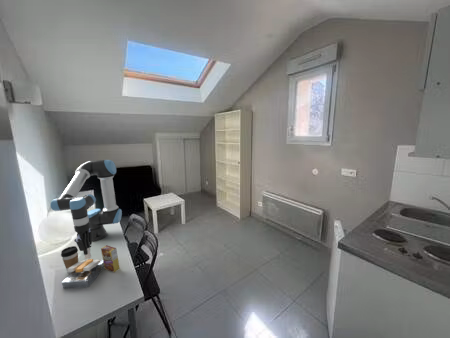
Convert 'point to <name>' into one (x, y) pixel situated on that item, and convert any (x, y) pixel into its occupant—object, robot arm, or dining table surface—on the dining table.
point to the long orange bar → (83, 265)
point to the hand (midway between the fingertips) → (88, 257)
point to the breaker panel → (82, 277)
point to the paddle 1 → (75, 266)
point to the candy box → (110, 258)
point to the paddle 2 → (92, 265)
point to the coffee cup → (69, 256)
